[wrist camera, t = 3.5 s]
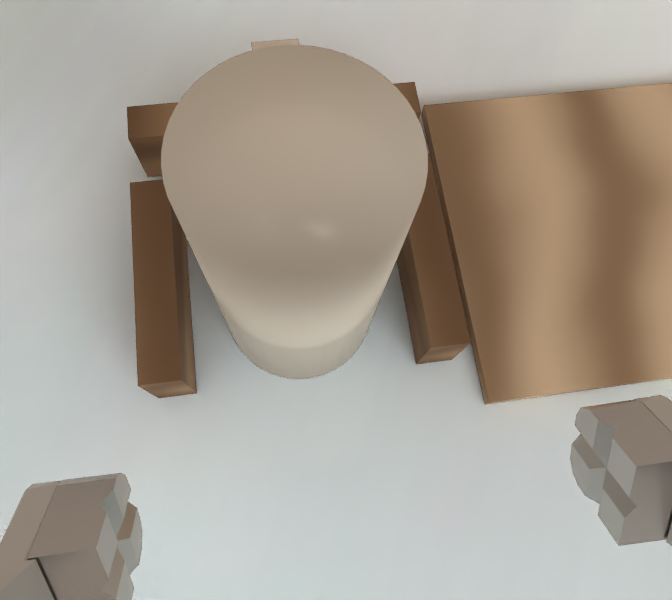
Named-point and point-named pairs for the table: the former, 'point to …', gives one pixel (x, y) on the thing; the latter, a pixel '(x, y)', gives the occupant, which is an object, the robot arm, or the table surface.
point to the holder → (173, 278)
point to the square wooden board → (560, 235)
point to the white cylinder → (295, 197)
